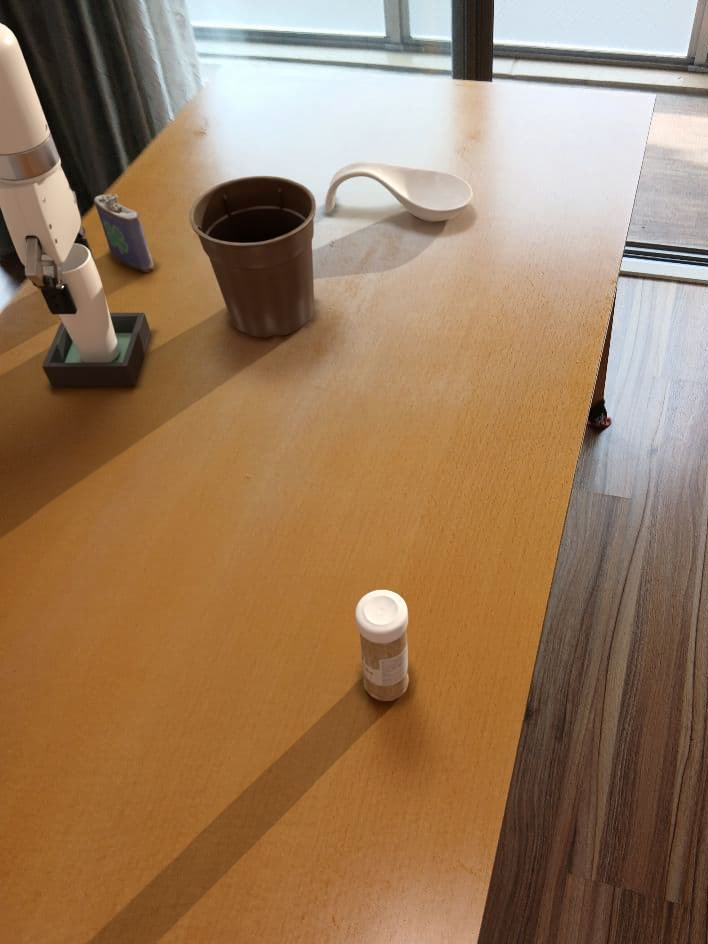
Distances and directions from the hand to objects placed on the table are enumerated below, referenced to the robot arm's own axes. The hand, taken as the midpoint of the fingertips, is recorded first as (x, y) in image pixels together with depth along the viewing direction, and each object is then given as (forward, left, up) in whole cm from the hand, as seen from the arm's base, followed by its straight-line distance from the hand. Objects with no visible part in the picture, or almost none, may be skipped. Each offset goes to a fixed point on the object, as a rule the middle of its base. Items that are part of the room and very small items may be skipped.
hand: (74, 289), depth 102 cm
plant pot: (+22, +10, -11) cm, 27 cm away
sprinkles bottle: (+40, -49, -11) cm, 64 cm away
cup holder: (0, 0, -11) cm, 11 cm away
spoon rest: (+40, +36, -11) cm, 55 cm away
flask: (-1, +23, -11) cm, 26 cm away
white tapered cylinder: (0, 0, -11) cm, 11 cm away
